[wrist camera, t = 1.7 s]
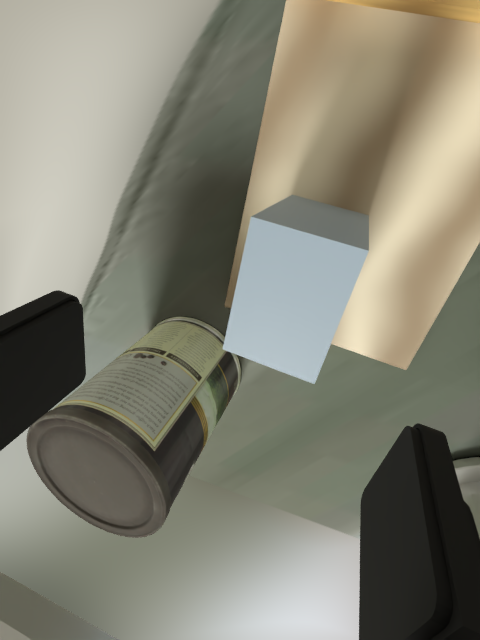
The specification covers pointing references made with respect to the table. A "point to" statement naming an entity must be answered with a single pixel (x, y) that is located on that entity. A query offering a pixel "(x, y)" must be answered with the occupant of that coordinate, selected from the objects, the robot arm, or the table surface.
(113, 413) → the coffee can
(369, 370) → the table surface
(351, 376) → the table surface
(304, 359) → the carton
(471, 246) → the shelf
